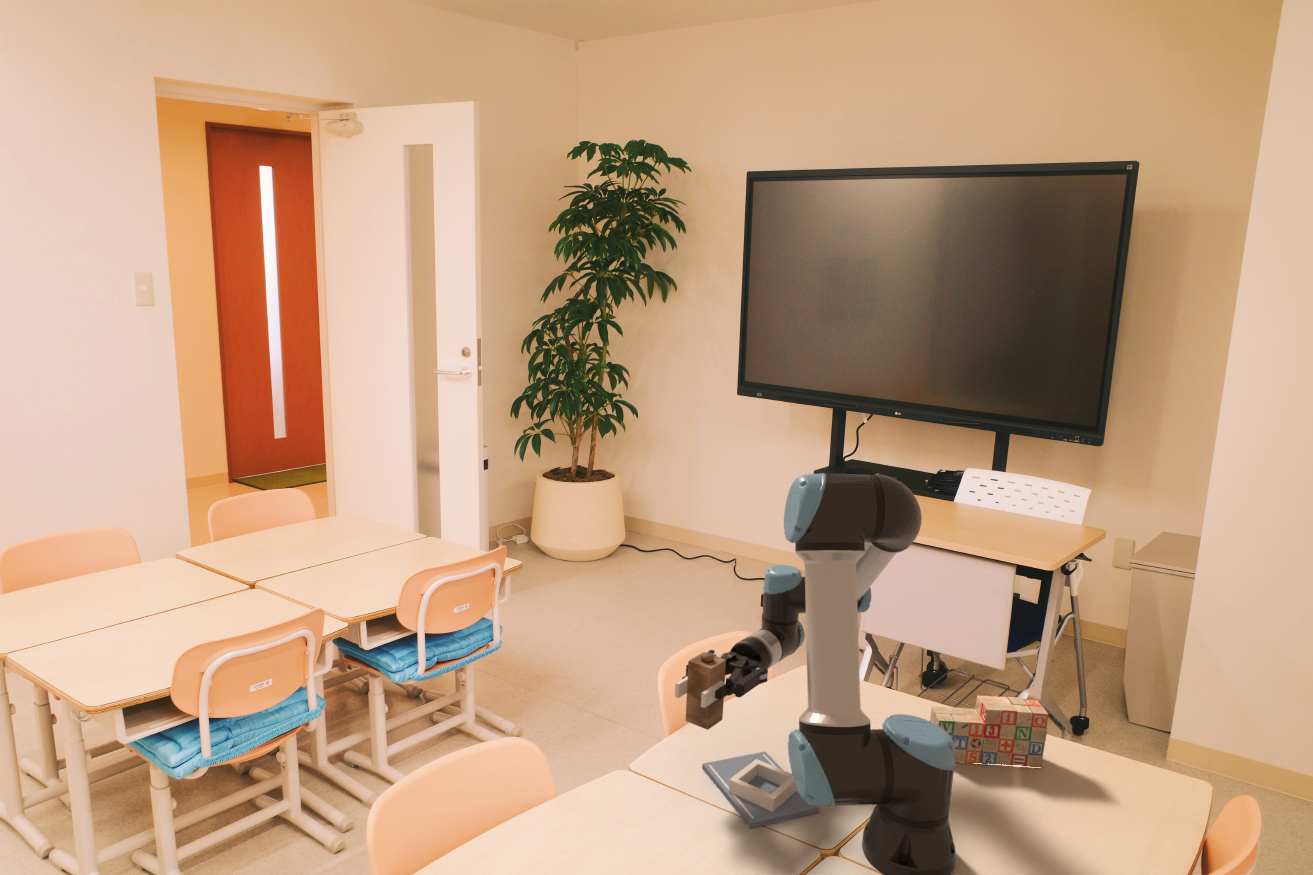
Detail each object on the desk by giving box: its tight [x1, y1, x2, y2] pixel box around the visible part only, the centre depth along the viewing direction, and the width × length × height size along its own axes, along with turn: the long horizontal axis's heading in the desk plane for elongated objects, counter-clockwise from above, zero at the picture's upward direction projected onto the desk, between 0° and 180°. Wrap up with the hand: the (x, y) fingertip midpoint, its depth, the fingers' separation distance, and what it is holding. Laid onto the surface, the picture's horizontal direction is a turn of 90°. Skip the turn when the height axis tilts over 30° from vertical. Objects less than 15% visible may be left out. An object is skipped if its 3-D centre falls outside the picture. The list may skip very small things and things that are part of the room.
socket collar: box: [729, 759, 797, 812], centre depth 164 cm, size 9×9×2 cm
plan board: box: [701, 751, 820, 829], centre depth 167 cm, size 20×14×1 cm
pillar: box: [685, 652, 726, 731], centre depth 165 cm, size 5×5×13 cm
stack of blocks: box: [929, 695, 1049, 768], centre depth 180 cm, size 21×6×12 cm, turn 87°
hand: (690, 695), depth 160 cm, fingers closed on pillar, 5 cm apart
